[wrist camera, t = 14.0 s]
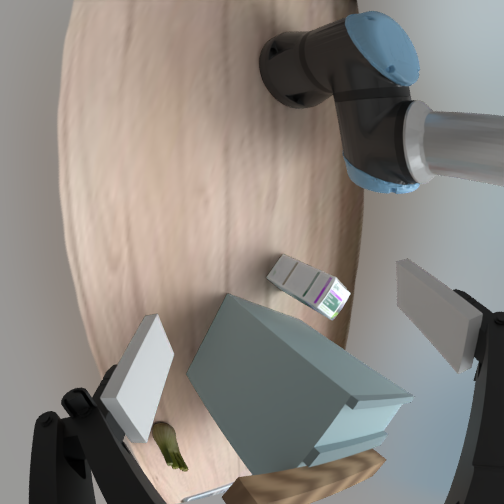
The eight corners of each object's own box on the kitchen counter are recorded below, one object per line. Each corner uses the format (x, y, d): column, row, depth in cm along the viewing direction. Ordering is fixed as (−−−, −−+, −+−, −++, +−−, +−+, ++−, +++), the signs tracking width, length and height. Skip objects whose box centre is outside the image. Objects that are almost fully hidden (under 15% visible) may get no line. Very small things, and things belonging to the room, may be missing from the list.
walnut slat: (221, 497, 23) (239, 523, 20) (238, 477, 23) (258, 505, 20) (357, 463, 40) (372, 476, 36) (370, 447, 40) (386, 459, 36)
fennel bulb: (146, 423, 52) (163, 466, 42) (167, 415, 54) (188, 457, 44) (155, 437, 54) (173, 478, 44) (175, 430, 56) (195, 470, 46)
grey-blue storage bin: (227, 293, 53) (358, 400, 27) (299, 319, 64) (414, 396, 38) (186, 374, 53) (275, 503, 27) (261, 385, 64) (353, 476, 39)
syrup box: (264, 277, 56) (315, 309, 44) (282, 252, 57) (337, 277, 45) (282, 291, 59) (332, 322, 47) (299, 266, 60) (352, 293, 48)
